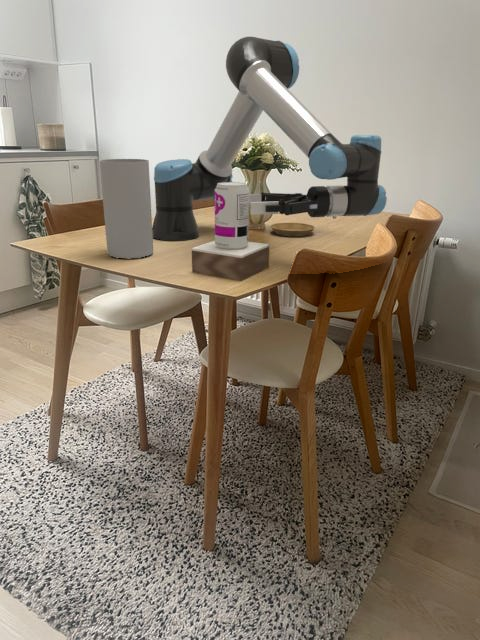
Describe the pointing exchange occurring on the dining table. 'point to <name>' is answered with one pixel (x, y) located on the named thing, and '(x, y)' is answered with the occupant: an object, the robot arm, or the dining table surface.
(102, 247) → the dining table surface
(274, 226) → the plant saucer
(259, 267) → the block
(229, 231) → the supplement can
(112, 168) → the cylinder vase
